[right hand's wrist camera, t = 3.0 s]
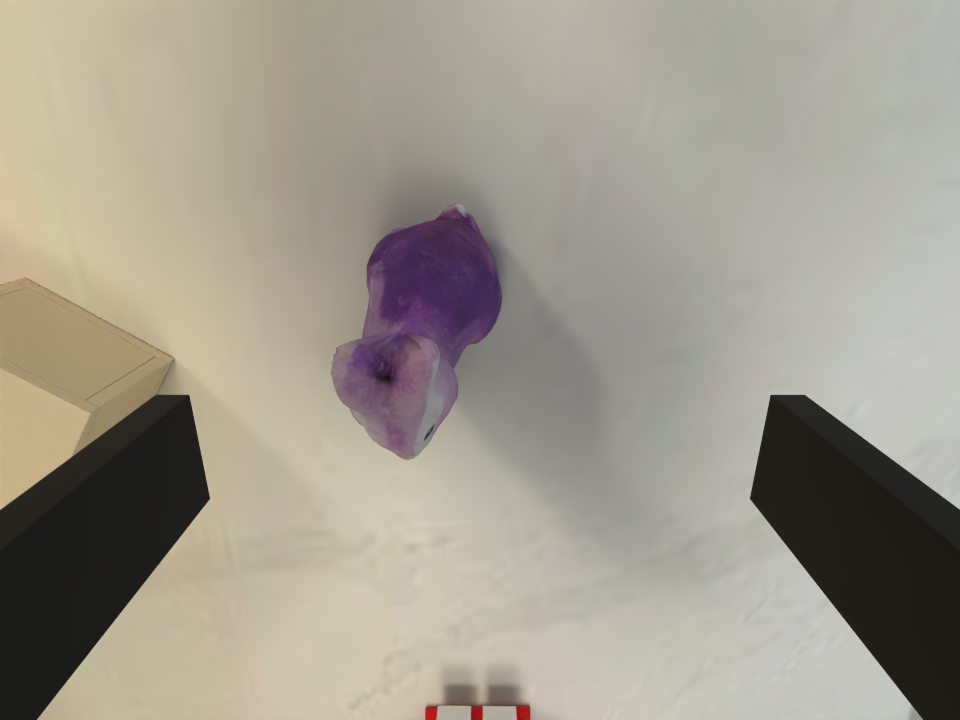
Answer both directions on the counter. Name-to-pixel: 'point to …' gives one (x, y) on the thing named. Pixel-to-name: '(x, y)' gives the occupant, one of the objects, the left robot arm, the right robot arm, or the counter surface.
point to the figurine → (417, 329)
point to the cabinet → (62, 382)
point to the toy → (478, 713)
